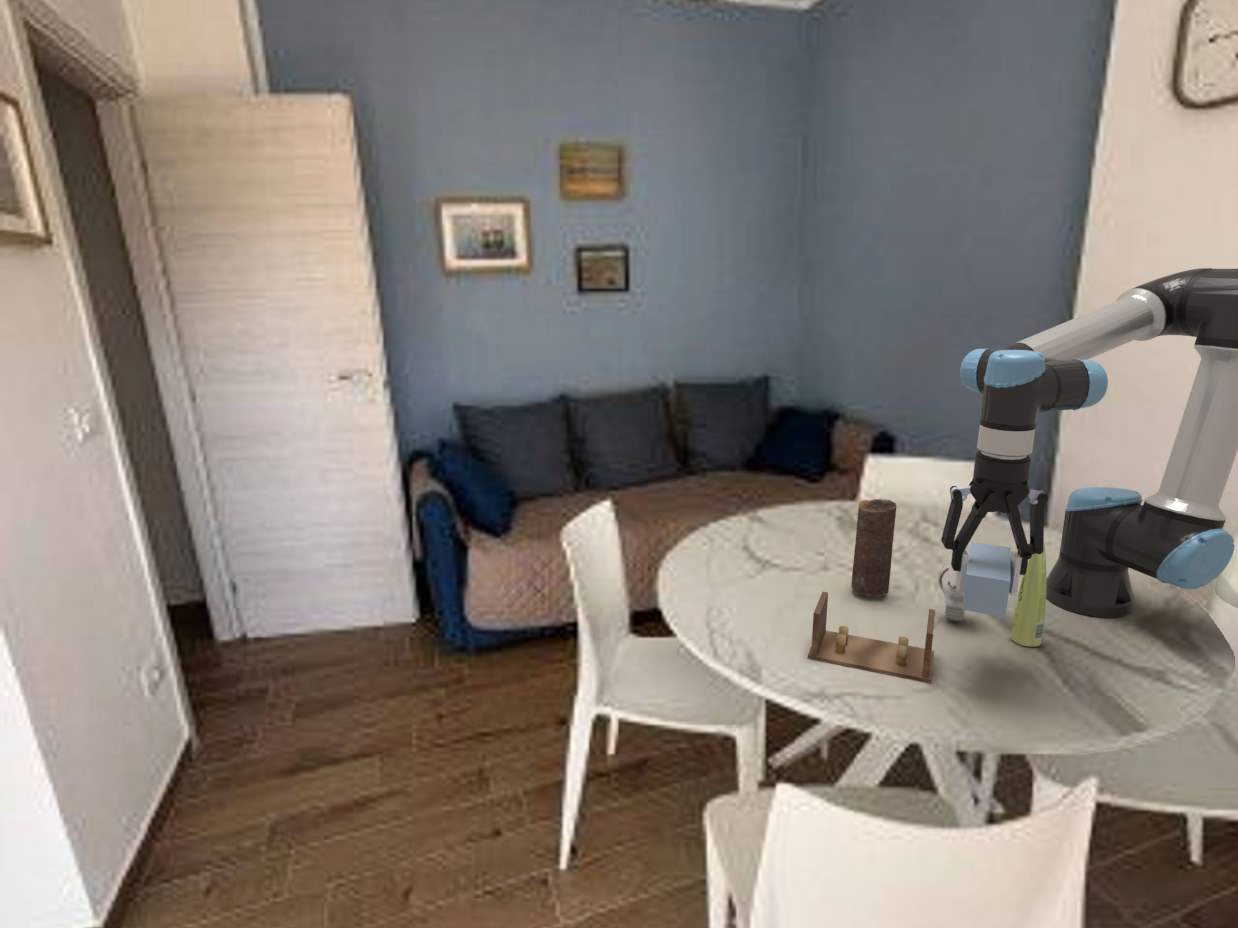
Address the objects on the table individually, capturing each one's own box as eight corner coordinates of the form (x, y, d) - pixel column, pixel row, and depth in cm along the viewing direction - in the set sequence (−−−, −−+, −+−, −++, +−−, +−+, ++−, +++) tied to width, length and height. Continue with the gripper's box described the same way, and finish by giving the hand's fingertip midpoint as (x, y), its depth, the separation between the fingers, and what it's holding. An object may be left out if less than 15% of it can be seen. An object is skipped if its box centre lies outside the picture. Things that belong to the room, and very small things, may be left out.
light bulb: (950, 632, 135) (957, 572, 132) (926, 615, 142) (932, 558, 139) (982, 626, 137) (989, 567, 134) (956, 610, 144) (963, 553, 140)
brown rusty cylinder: (891, 603, 147) (899, 509, 141) (852, 600, 148) (859, 507, 143) (885, 586, 154) (893, 496, 149) (849, 584, 156) (855, 495, 150)
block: (1006, 580, 123) (1010, 547, 121) (1005, 617, 111) (1010, 581, 109) (966, 574, 125) (970, 541, 124) (961, 609, 114) (966, 574, 112)
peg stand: (933, 653, 129) (938, 609, 126) (931, 682, 120) (936, 636, 117) (817, 631, 137) (820, 589, 134) (807, 658, 128) (810, 613, 126)
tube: (1002, 633, 135) (1015, 534, 129) (1028, 631, 135) (1043, 532, 130) (1021, 649, 129) (1036, 546, 124) (1048, 647, 130) (1064, 544, 124)
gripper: (1065, 449, 113) (1044, 584, 120) (928, 444, 117) (915, 576, 123) (1085, 462, 106) (1061, 605, 113) (939, 457, 110) (924, 596, 116)
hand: (985, 590), depth 118 cm, fingers closed on block, 7 cm apart
